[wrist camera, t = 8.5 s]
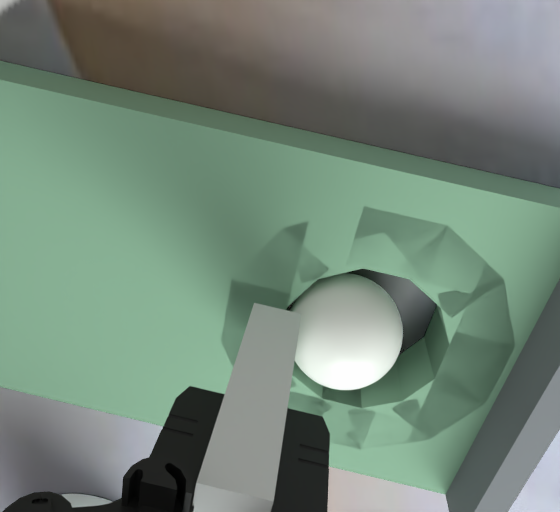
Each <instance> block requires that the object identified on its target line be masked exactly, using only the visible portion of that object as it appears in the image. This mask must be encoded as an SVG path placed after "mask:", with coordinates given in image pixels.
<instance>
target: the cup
mask: <svg viewBox="0 0 560 512" xmlns="http://www.w3.org/2000/svg"><path fill="white" fill-rule="evenodd" d="M60 495H62V496H63V497H64V498H65V499H67V500H68V501H69V502H70V503H71V506H72V508H73V507H86V506H98V505H104V504H109V503H111V502H112V501H109V500H106V499H103V498H100V497H96V496H91V495H84V494H60Z"/></svg>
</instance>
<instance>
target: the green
mask: <svg viewBox="0 0 560 512" xmlns="http://www.w3.org/2000/svg"><path fill="white" fill-rule="evenodd" d="M359 269H368V270H372V271H376V272H380V273H385V274H389V275H393V276H398V277H402V278H406V279H409V280H410V281H412V282H413V283H414V284H415V285H416V286H417V287H418V288H419V289H420V290H422V291H423V292H424V293H425V294H426V295H427V296H428V297H429V298H430V299H432V300H433V301H434V302H435V303H436V304H437V306H436V309H435V311H434V314H433V316H432V318H431V321H430V323H429V326H428V328H427V331H426V333H425V336H424V337H423V338H422V339H420V340H419V341H418V342H416V343H415V344H414V345H412V346H411V347H410V348H408V349H407V350H406V351H404V352H403V353H402V354H400V355H399V356H398V357H397V360H396V361H395V363H394V365H393V366H392V367H391V369H390V370H389V371H388V372H387V373H386V374H385V375H384V376H383V377H382V378H381V379H379V380H378V381H376V382H375V383H373V384H371V385H368V386H366V387H363V388H360V389H354V390H337V389H332V388H328V387H326V386H323V385H321V384H319V383H317V382H315V381H313V380H312V379H311V378H309V377H308V376H307V375H306V374H305V373H304V372H303V371H302V370H301V369H300V368H299V366H298V365H297V364H296V362H295V361H294V368H293V374H292V381H291V388H290V395H289V401H288V408H289V409H294V410H298V411H302V412H306V413H310V414H314V415H319V416H323V418H324V421H325V423H326V425H327V428H328V430H329V432H330V449H329V466H330V467H334V468H338V469H342V470H346V471H351V472H355V473H359V474H363V475H367V476H371V477H375V478H380V479H384V480H388V481H392V482H396V483H400V484H404V485H409V486H413V487H417V488H421V489H425V490H429V491H433V492H437V493H442V494H446V499H447V503H448V508H449V512H508V511H509V509H510V507H511V506H512V504H513V503H514V501H515V499H516V498H517V496H518V495H519V493H520V491H521V490H522V488H523V487H524V485H525V484H526V482H527V480H528V479H529V477H530V476H531V474H532V472H533V471H534V469H535V468H536V466H537V465H538V463H539V461H540V460H541V458H542V457H543V455H544V453H545V452H546V450H547V449H548V447H549V445H550V444H551V442H552V441H553V439H554V438H555V436H556V434H557V433H558V431H559V430H560V188H555V187H551V186H546V185H542V184H538V183H533V182H529V181H525V180H520V179H516V178H511V177H507V176H503V175H498V174H494V173H490V172H485V171H481V170H476V169H472V168H468V167H463V166H459V165H455V164H450V163H446V162H441V161H437V160H433V159H428V158H424V157H420V156H415V155H411V154H406V153H402V152H398V151H393V150H389V149H385V148H380V147H376V146H371V145H367V144H363V143H358V142H354V141H350V140H345V139H341V138H336V137H332V136H328V135H323V134H319V133H315V132H310V131H306V130H301V129H297V128H293V127H288V126H284V125H280V124H275V123H271V122H266V121H262V120H258V119H253V118H249V117H245V116H240V115H236V114H231V113H227V112H223V111H218V110H214V109H209V108H205V107H201V106H196V105H192V104H188V103H183V102H179V101H174V100H170V99H166V98H161V97H157V96H153V95H148V94H144V93H139V92H135V91H131V90H126V89H122V88H118V87H113V86H109V85H104V84H100V83H96V82H91V81H87V80H83V79H78V78H74V77H69V76H65V75H61V74H56V73H52V72H48V71H43V70H39V69H34V68H30V67H26V66H21V65H17V64H13V63H8V62H4V61H0V387H3V388H7V389H11V390H15V391H19V392H24V393H28V394H32V395H36V396H40V397H44V398H48V399H53V400H57V401H61V402H65V403H69V404H73V405H77V406H81V407H86V408H90V409H94V410H98V411H102V412H106V413H110V414H115V415H119V416H123V417H127V418H131V419H135V420H139V421H144V422H148V423H152V424H156V425H160V426H164V424H165V421H166V419H167V417H168V416H169V413H170V410H171V408H172V406H173V404H174V401H175V399H176V397H178V396H179V395H180V394H181V393H182V392H183V391H185V390H186V389H187V388H188V387H189V386H192V387H197V388H201V389H205V390H209V391H213V392H217V393H222V394H225V392H226V389H227V386H228V383H229V379H230V376H231V373H232V370H233V367H234V364H235V361H236V358H237V355H238V351H239V348H240V345H241V342H242V339H243V336H244V333H245V330H246V327H247V323H248V320H249V317H250V314H251V311H252V308H253V305H254V303H257V304H262V305H266V306H270V307H274V308H279V309H283V310H287V311H289V309H288V306H289V305H290V304H291V303H292V302H293V301H294V300H296V299H297V298H298V297H299V296H300V295H301V294H302V293H303V292H304V291H305V290H307V289H308V288H309V287H310V286H311V285H312V284H313V283H314V282H315V281H317V280H318V279H321V278H325V277H329V276H333V275H338V274H342V273H346V272H350V271H354V270H359Z"/></svg>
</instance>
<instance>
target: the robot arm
mask: <svg viewBox="0 0 560 512" xmlns="http://www.w3.org/2000/svg"><path fill="white" fill-rule="evenodd" d="M300 321H301V314H300V313H296V312H291V311H287V310H283V309H279V308H274V307H270V306H266V305H262V304H257V303H254V305H253V308H252V311H251V314H250V317H249V320H248V323H247V327H246V330H245V333H244V336H243V339H242V342H241V345H240V348H239V351H238V355H237V358H236V361H235V364H234V367H233V370H232V373H231V376H230V379H229V383H228V386H227V389H226V392H225V394H222V393H217V392H213V391H209V390H205V389H201V388H197V387H192V386H189V387H188V388H187V389H186V390H185V391H183V392H182V393H181V394H180V395H179V396H178V397H176V399H175V401H174V404H173V406H172V408H171V410H170V413H169V416H168V417H167V419H166V421H165V424H164V426H163V429H162V430H161V433H160V435H159V437H158V439H157V442H156V444H155V446H154V448H153V451H152V453H151V455H150V457H149V458H146V459H142V460H141V461H139V462H137V463H136V464H134V465H133V466H131V467H130V469H129V470H128V471H127V473H126V474H125V475H124V477H123V488H122V498H121V499H119V500H117V501H114V502H111V503H109V504H104V505H98V506H86V507H73V508H72V506H71V503H70V502H69V501H68V500H67V499H65V498H64V497H63V496H62V495H59V494H56V493H52V492H36V493H32V494H29V495H27V496H24V497H22V498H19V499H18V500H17V501H15V502H14V503H12V504H11V505H10V506H8V507H7V508H6V509H5V510H4V511H3V512H327V503H328V476H329V469H328V467H329V449H330V432H329V430H328V428H327V425H326V423H325V421H324V418H323V416H319V415H314V414H310V413H306V412H302V411H298V410H294V409H289V408H288V401H289V395H290V388H291V381H292V374H293V368H294V361H295V354H296V348H297V341H298V334H299V327H300Z"/></svg>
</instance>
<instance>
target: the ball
mask: <svg viewBox="0 0 560 512" xmlns="http://www.w3.org/2000/svg"><path fill="white" fill-rule="evenodd" d="M290 311H291V312H296V313H300V314H301V321H300V327H299V334H298V341H297V348H296V354H295V362H296V364H297V365H298V366H299V368H300V369H301V370H302V371H303V372H304V373H305V374H306V375H307V376H308V377H309V378H311V379H312V380H313V381H315V382H317V383H319V384H321V385H323V386H326V387H328V388H332V389H337V390H354V389H360V388H363V387H366V386H368V385H371V384H373V383H375V382H376V381H378V380H379V379H381V378H382V377H383V376H384V375H385V374H386V373H387V372H388V371H389V370H390V369H391V367H392V366H393V365H394V363H395V361H396V360H397V357H398V355H399V352H400V350H401V346H402V339H403V325H402V320H401V316H400V313H399V311H398V308H397V306H396V304H395V303H394V301H393V299H392V298H391V296H390V295H389V294H388V293H387V292H386V291H385V290H384V289H383V288H382V287H381V286H379V285H378V284H377V283H375V282H373V281H372V280H370V279H368V278H365V277H363V276H359V275H355V274H348V273H342V274H338V275H333V276H329V277H325V278H321V279H318V280H317V281H315V282H314V283H313V284H312V285H311V286H310V287H309V288H308V289H307V290H305V291H304V292H303V293H302V294H301V295H300V296H299V297H298V298H297V299H296V300H295V301H294V303H293V305H292V307H291V310H290Z"/></svg>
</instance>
